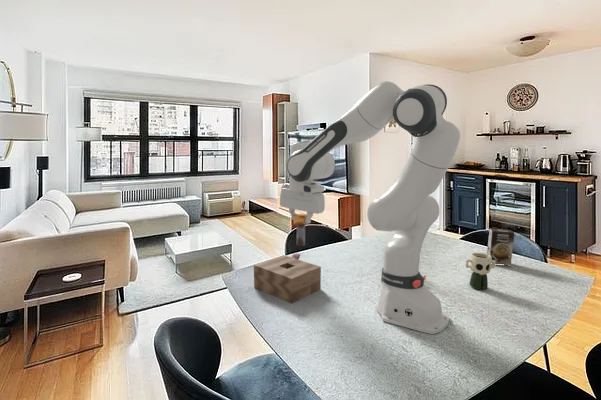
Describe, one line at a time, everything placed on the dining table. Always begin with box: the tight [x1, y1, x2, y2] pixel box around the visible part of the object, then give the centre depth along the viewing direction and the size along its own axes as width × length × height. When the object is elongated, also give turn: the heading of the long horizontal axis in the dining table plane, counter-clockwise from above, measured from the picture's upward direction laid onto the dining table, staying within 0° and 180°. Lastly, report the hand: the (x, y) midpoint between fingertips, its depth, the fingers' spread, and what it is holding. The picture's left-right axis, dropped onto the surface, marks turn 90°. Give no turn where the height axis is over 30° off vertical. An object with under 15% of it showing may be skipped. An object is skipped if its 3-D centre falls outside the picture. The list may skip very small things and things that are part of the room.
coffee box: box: [486, 227, 515, 265], centre depth 158 cm, size 9×6×16 cm
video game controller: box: [290, 252, 301, 260], centre depth 154 cm, size 10×5×7 cm, turn 169°
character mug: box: [465, 252, 496, 290], centre depth 131 cm, size 11×7×13 cm, turn 85°
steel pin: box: [293, 213, 309, 247], centre depth 130 cm, size 6×6×12 cm
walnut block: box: [253, 254, 322, 304], centre depth 130 cm, size 20×16×9 cm
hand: (300, 221), depth 129 cm, fingers closed on steel pin, 6 cm apart
